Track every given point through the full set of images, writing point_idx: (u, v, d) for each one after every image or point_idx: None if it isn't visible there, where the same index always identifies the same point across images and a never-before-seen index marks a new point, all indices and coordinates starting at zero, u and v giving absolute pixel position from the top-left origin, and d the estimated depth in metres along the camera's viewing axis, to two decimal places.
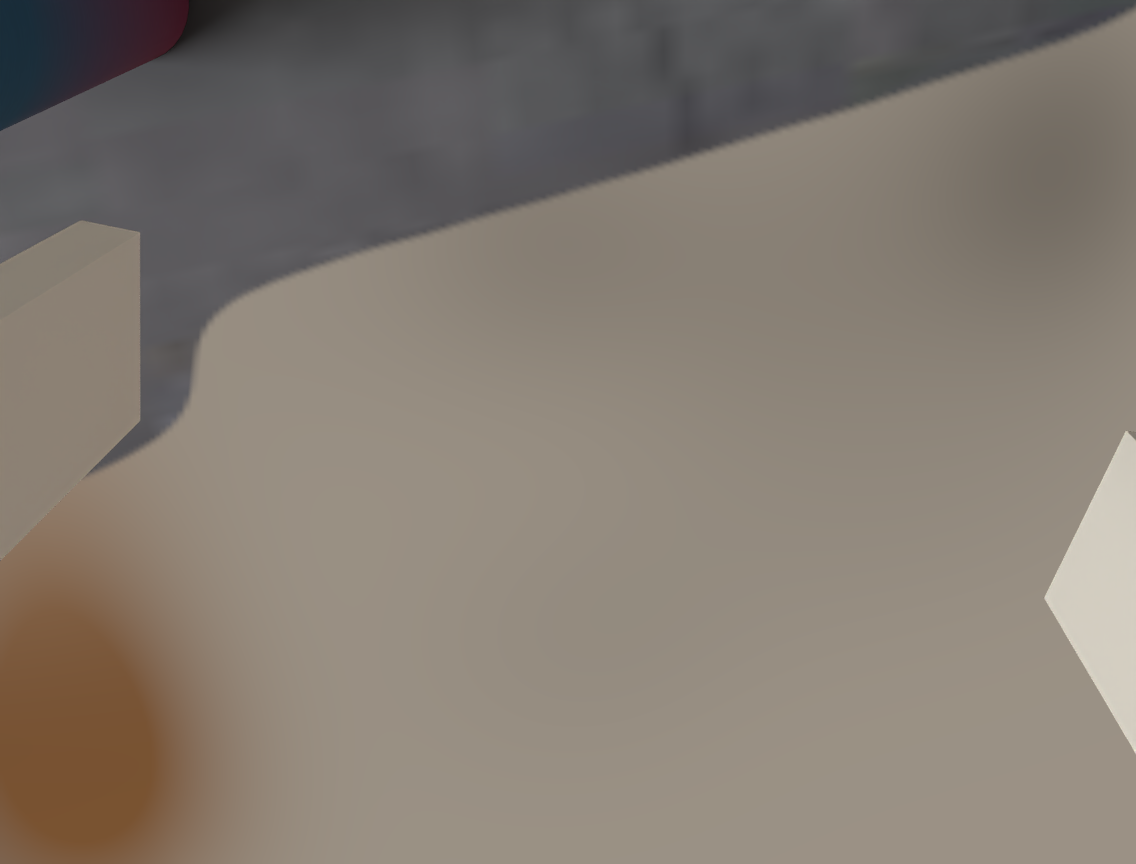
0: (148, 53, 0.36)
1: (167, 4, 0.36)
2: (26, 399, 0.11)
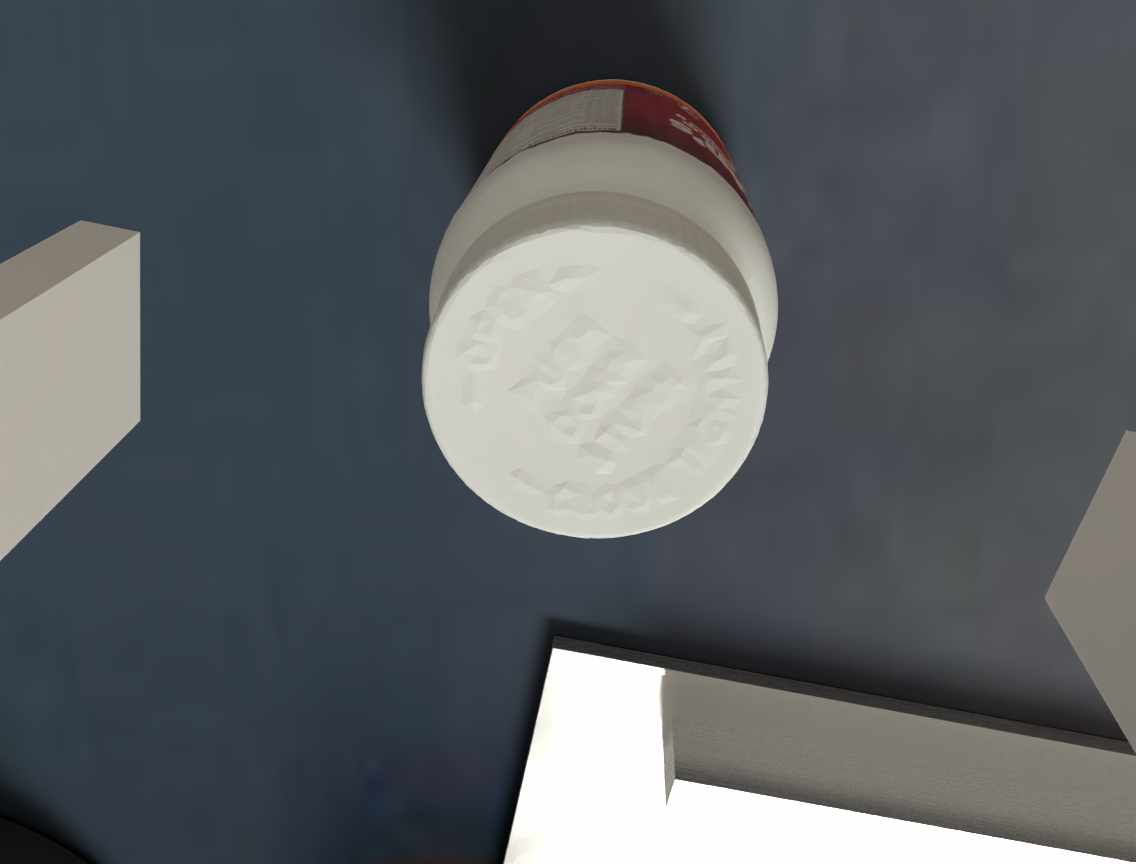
0: None
1: None
2: (26, 399, 0.11)
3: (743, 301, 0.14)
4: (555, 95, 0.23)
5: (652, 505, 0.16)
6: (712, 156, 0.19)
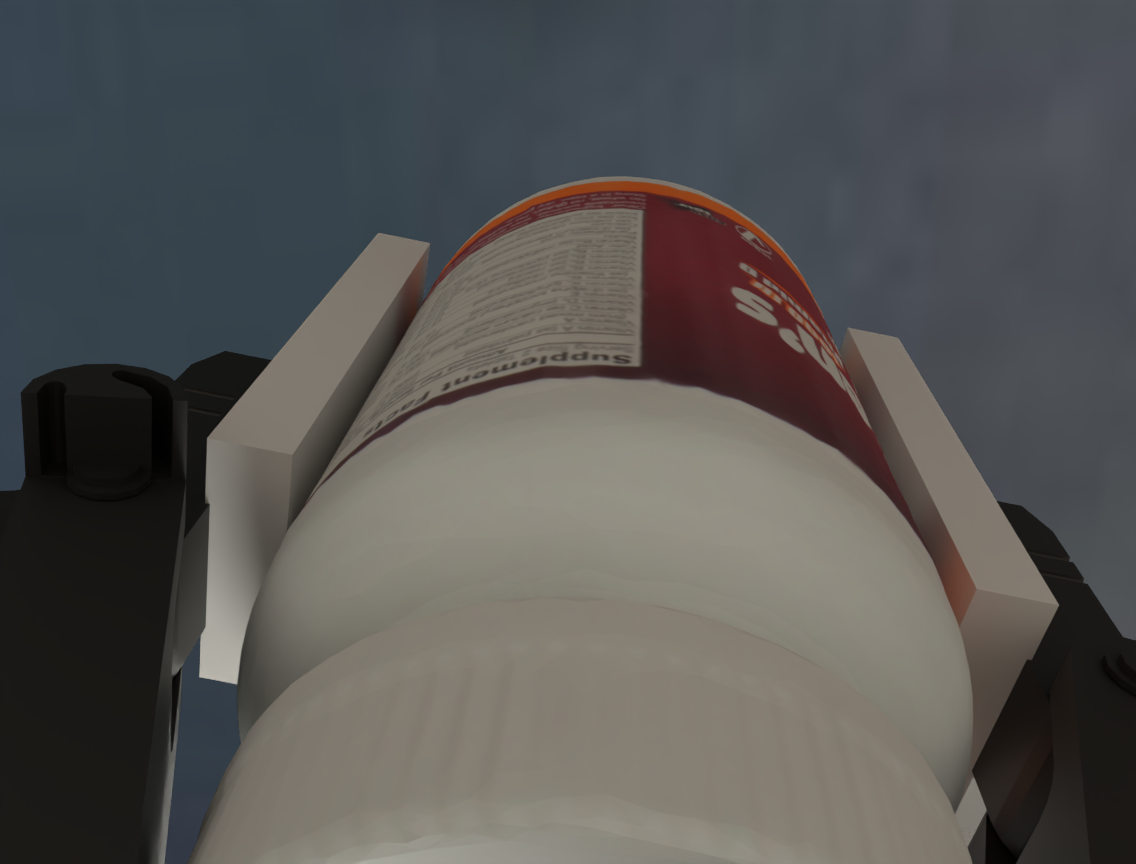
0: None
1: None
2: None
3: None
4: (526, 209, 0.13)
5: None
6: (820, 378, 0.10)
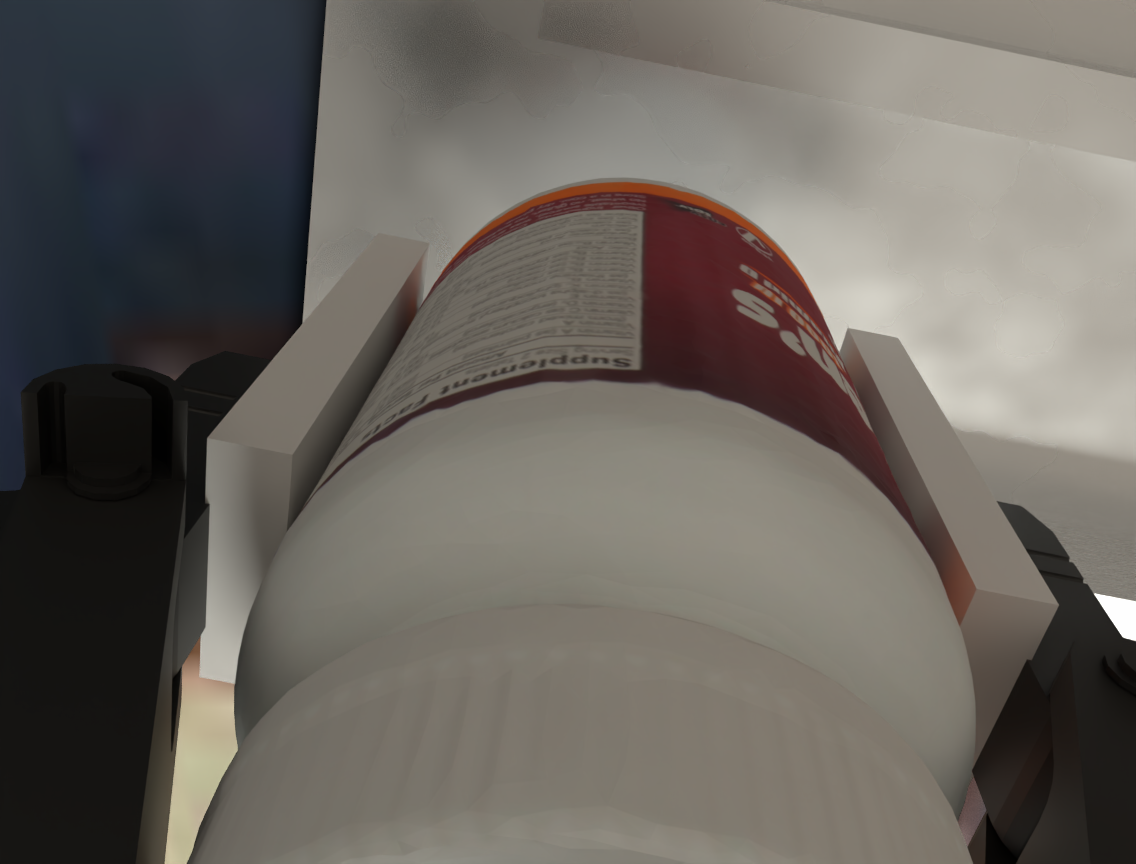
0: None
1: None
2: None
3: None
4: (526, 210, 0.13)
5: None
6: (822, 381, 0.10)
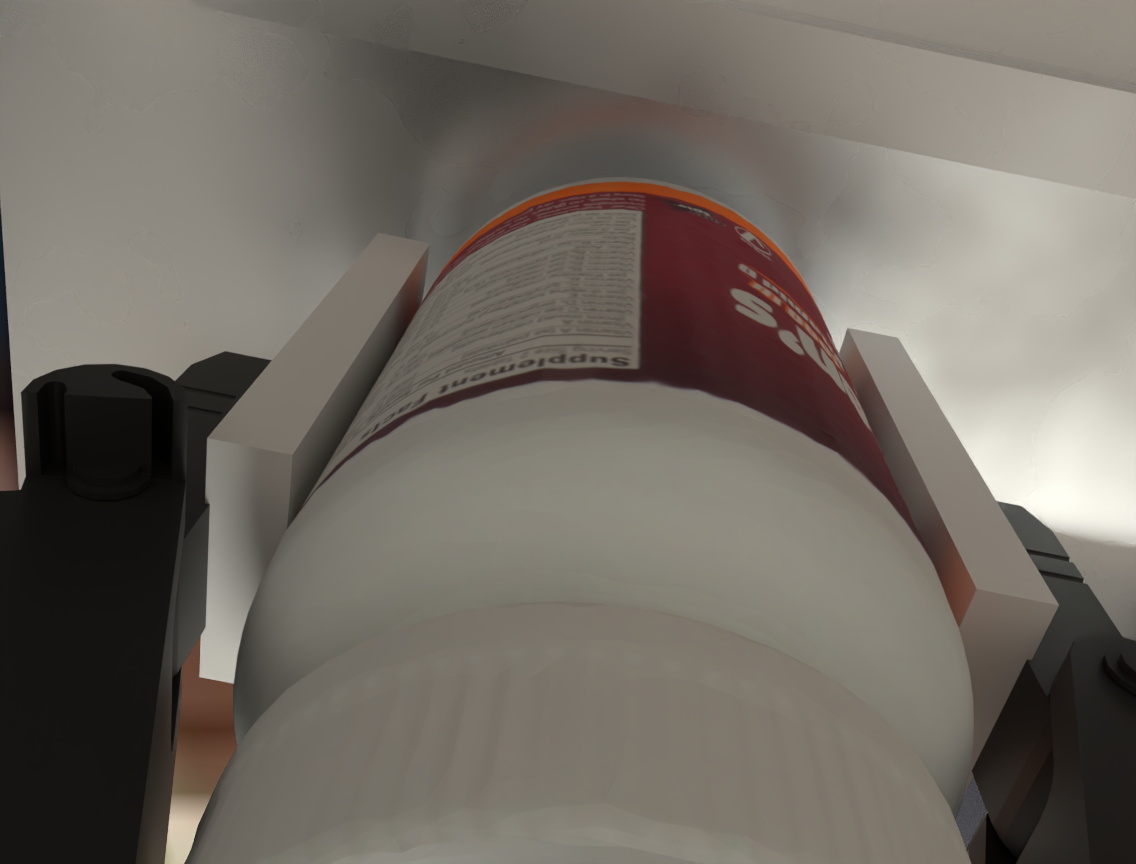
0: None
1: None
2: None
3: None
4: (525, 209, 0.13)
5: None
6: (820, 381, 0.10)
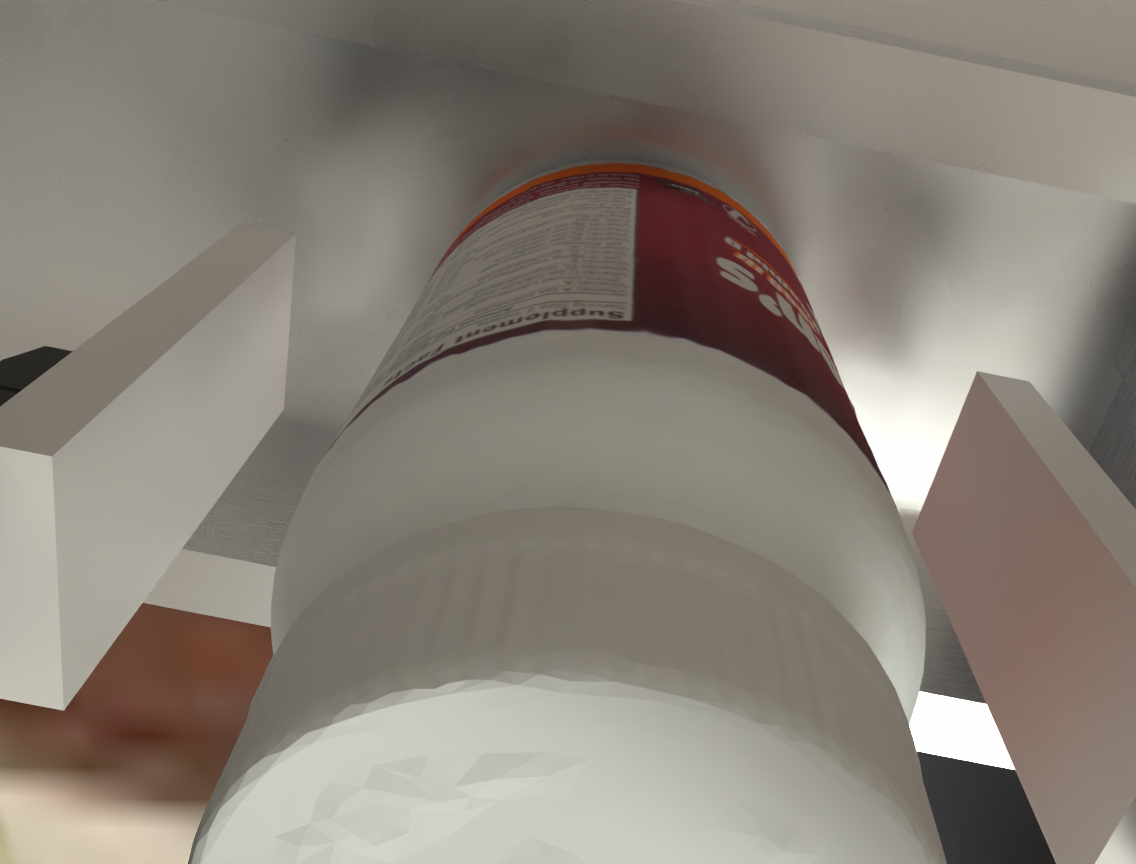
0: None
1: None
2: (218, 386, 0.12)
3: (919, 829, 0.06)
4: (528, 188, 0.14)
5: None
6: (795, 338, 0.11)
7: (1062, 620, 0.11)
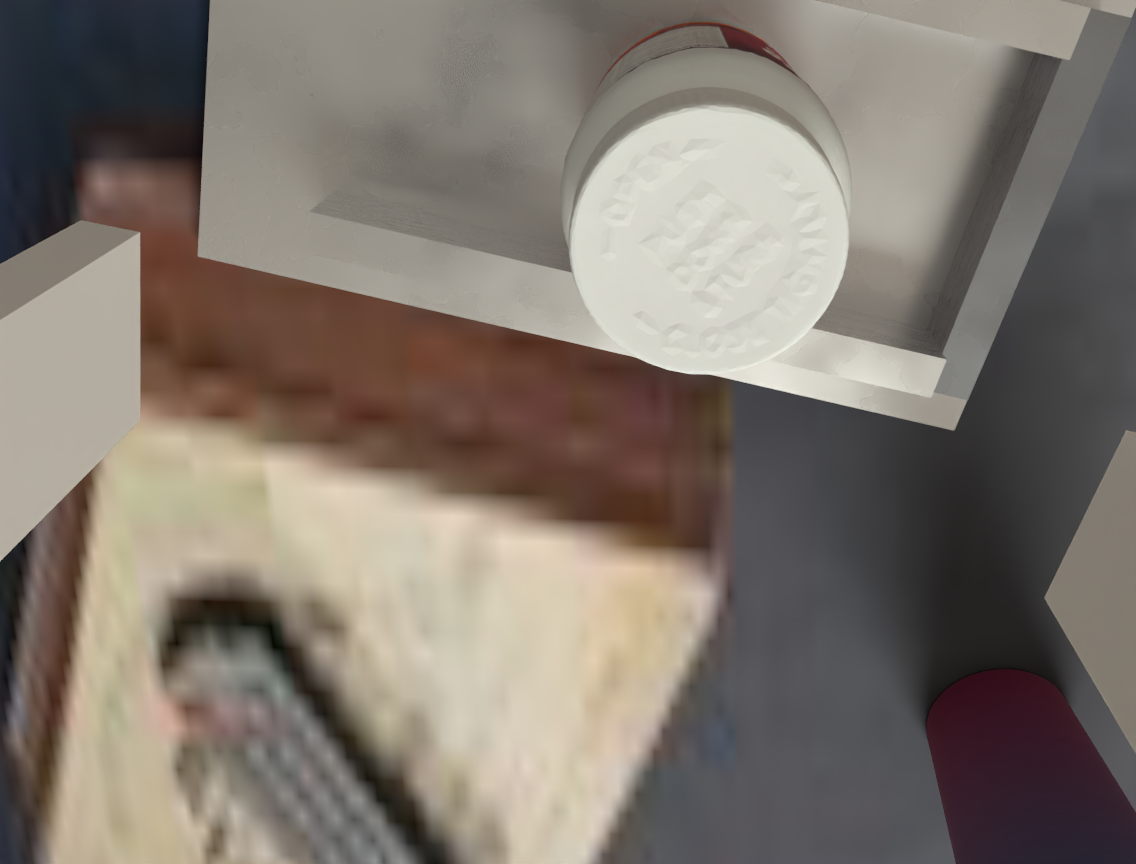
0: (1091, 743, 0.34)
1: (1042, 710, 0.34)
2: (26, 399, 0.11)
3: (834, 173, 0.18)
4: (657, 32, 0.26)
5: (747, 346, 0.20)
6: None
7: None
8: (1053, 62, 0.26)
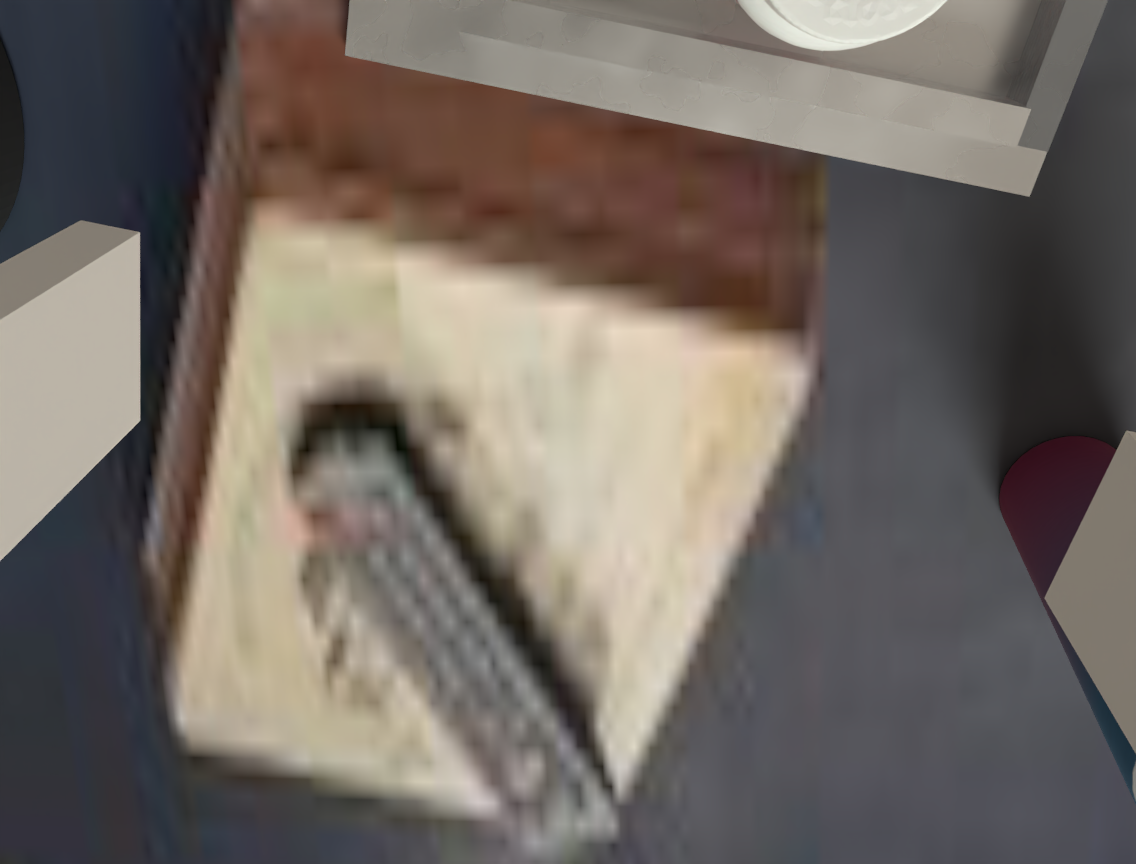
0: None
1: (1110, 460, 0.38)
2: (26, 399, 0.11)
3: None
4: None
5: (898, 13, 0.23)
6: None
7: None
8: None
